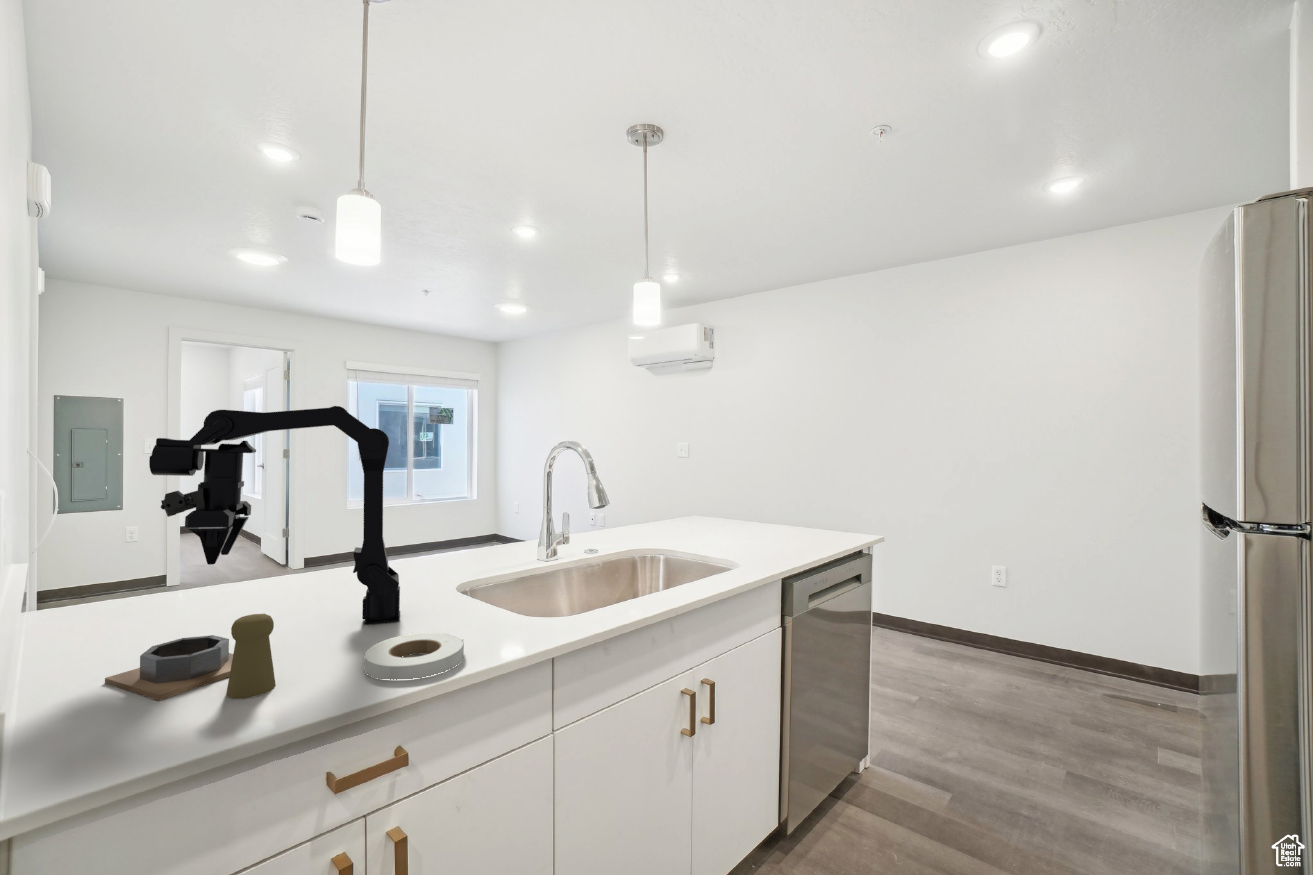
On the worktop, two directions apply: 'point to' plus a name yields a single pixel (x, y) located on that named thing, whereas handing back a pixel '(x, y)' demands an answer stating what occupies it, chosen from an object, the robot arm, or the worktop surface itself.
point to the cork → (251, 657)
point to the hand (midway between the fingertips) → (218, 559)
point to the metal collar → (184, 659)
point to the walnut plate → (167, 689)
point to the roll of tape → (391, 665)
